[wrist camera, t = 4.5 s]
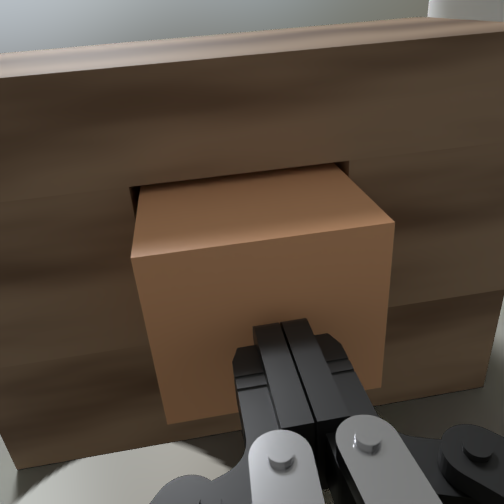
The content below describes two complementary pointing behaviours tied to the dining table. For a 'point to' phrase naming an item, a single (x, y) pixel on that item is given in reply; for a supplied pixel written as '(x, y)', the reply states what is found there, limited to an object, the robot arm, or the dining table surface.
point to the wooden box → (227, 163)
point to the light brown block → (257, 274)
